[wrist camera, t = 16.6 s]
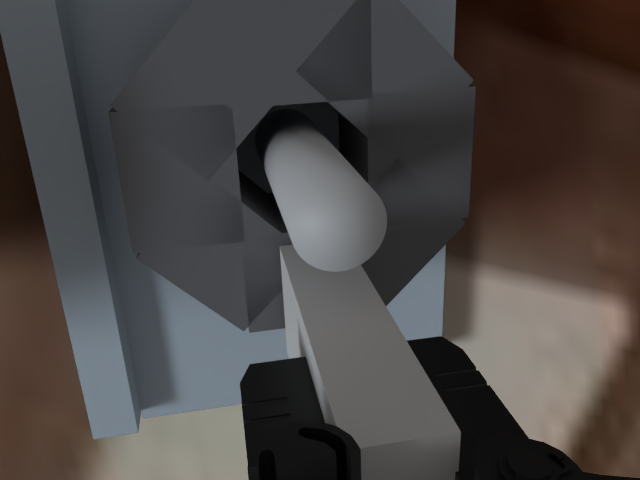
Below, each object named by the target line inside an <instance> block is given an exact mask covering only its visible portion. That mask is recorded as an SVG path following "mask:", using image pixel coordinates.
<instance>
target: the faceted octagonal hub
mask: <svg viewBox="0 0 640 480" xmlns="http://www.w3.org/2000/svg"><path fill="white" fill-rule="evenodd" d="M473 81H474V80H473V79H472V78H471V77H470V75H469V74H468V73H467V72H466V71H465V70H464V69H463V68H462V67H461V66H460V65H459V64H458V62H457V61H456V60H455V59H454V58H453V57H452V56H451V55H450V54H449V53H448V52H447V51H446V49H445V48H444V47H443V46H442V45H441V44H440V43H439V42H438V41H437V40H436V39H435V38H434V37H433V35H432V34H431V33H430V32H429V31H428V30H427V29H426V28H425V27H424V26H423V25H422V24H421V22H420V21H419V20H418V19H417V18H416V17H415V16H414V15H413V14H412V13H411V12H410V11H409V9H408V8H407V7H406V6H405V5H404V4H403V3H402V2H401V1H400V0H194V1H193V2H192V3H191V5H190V6H189V7H188V8H187V10H186V11H185V12H184V13H183V15H182V16H181V17H180V18H179V20H178V21H177V22H176V23H175V25H174V26H173V27H172V28H171V30H170V31H169V32H168V33H167V35H166V36H165V37H164V38H163V40H162V41H161V42H160V43H159V45H158V46H157V47H156V48H155V50H154V51H153V52H152V53H151V55H150V56H149V57H148V58H147V60H146V61H145V62H144V63H143V65H142V66H141V67H140V68H139V70H138V71H137V72H136V73H135V75H134V76H133V77H132V78H131V80H130V81H129V82H128V83H127V85H126V86H125V87H124V88H123V90H122V91H121V92H120V93H119V95H118V96H117V97H116V98H115V100H114V101H113V102H112V104H111V105H110V106H111V107H112V108H111V109H110V111H109V112H108V115H109V121H110V127H111V132H112V138H113V144H114V150H115V155H116V161H117V167H118V173H119V179H120V184H121V190H122V196H123V202H124V207H125V213H126V219H127V225H128V231H129V236H130V242H131V248H132V254H133V253H137V256H136V259H137V260H139V261H140V262H142V263H143V264H145V265H146V266H147V267H149V268H150V269H152V270H153V271H155V272H156V273H158V274H159V275H161V276H162V277H164V278H165V279H167V280H168V281H170V282H171V283H173V284H174V285H176V286H177V287H179V288H180V289H182V290H183V291H184V292H186V293H187V294H189V295H190V296H192V297H193V298H195V299H196V300H198V301H199V302H201V303H202V304H204V305H205V306H207V307H208V308H210V309H211V310H213V311H214V312H216V313H217V314H218V315H220V316H221V317H223V318H224V319H226V320H227V321H229V322H230V323H232V324H233V325H235V326H236V327H238V328H239V329H241V330H242V331H245V330H246V329H247V328H248V327H249V333H252V332H260V331H268V330H275V329H283V328H285V315H284V301H283V287H282V273H281V259H280V246H287V245H293V244H292V241H291V239H290V236H289V233H288V231H287V228H286V225H285V223H284V220H283V218H282V215H281V212H280V210H279V207H278V204H277V202H276V199H275V196H274V194H273V193H267V192H265V191H264V190H263V189H262V188H260V187H259V186H258V185H257V184H256V183H254V182H253V181H252V180H251V179H249V178H248V177H247V176H246V175H244V174H243V173H242V172H241V171H239V170H238V162H237V152H236V148H237V147H238V146H239V145H240V144H241V142H242V141H243V140H244V139H245V138H246V137H247V135H248V134H249V133H250V132H251V131H252V130H253V128H254V127H255V126H256V125H257V124H258V123H259V121H260V120H261V119H262V118H263V117H264V116H265V114H266V113H267V112H268V111H269V110H270V109H271V107H272V106H276V105H289V104H303V103H317V102H327V103H328V104H329V105H330V106H331V107H332V108H333V109H334V110H335V111H336V112H337V113H338V123H339V152H340V153H341V155H342V156H343V157H344V158H345V159H346V160H347V161H348V162H349V163H350V164H351V166H352V167H353V168H354V169H355V170H356V171H357V172H358V173H359V174H360V175H361V177H362V178H363V179H364V180H365V181H366V182H367V183H368V184H369V185H370V186H371V188H372V189H373V190H374V191H375V192H376V193H377V194H378V196H379V197H380V198H381V200H382V202H383V204H384V207H385V209H386V214H387V228H386V233H385V236H384V239H383V241H382V243H381V245H380V247H379V248H378V250H377V251H376V252H375V253H374V255H373V256H372V257H370V258H369V259H368V260H367V261H366V262H364V263H363V264H361V266H362V267H363V269H364V271H365V272H366V274H367V276H368V277H369V279H370V281H371V282H372V284H373V286H374V287H375V289H376V291H377V292H378V294H379V296H380V297H381V299H382V301H383V302H384V304H385V306H387V305H388V304H389V303H390V302H391V301H392V300H393V299H394V298H395V297H396V296H397V295H398V294H399V293H400V291H401V290H402V289H403V288H404V287H405V286H406V285H407V284H408V283H409V282H410V281H411V280H412V279H413V278H414V277H415V276H416V275H417V274H418V273H419V272H420V271H421V270H422V269H423V268H424V266H425V265H426V264H427V263H428V262H429V261H430V260H431V259H432V258H433V257H434V256H435V255H436V254H437V253H438V252H439V251H440V250H441V249H442V248H443V247H444V246H445V245H446V244H447V243H448V242H449V240H450V239H451V238H452V237H453V236H454V235H455V234H456V233H457V232H458V231H459V230H460V229H461V228H462V227H463V226H464V225H465V224H466V222H465V221H464V220H462V218H469V203H470V185H471V167H472V149H473V131H474V114H475V96H476V86H474V85H471V83H472V82H473Z"/></svg>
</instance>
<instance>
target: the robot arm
mask: <svg viewBox="0 0 640 480" xmlns="http://www.w3.org/2000/svg"><path fill="white" fill-rule="evenodd" d="M280 259H281V273H282V287H283V301H284V315H285V329H286V343H287V353H288V357H289V359H284V360H276V361H269V362H262V363H254V364H250V365H249V367H248V369H247V370H246V372H245V374H244V376H243V378H242V380H241V382H240V390H241V400H242V410H243V420H244V430H245V440H246V449H247V459H248V476H249V480H640V478H630V477H619V476H607V475H598V474H592V473H586V472H582V471H581V469H580V468H579V467H578V466H577V464H575V463H574V462H573V461H572V460H571V459H570V458H569V457H568V456H567V455H566V454H564V453H563V452H562V451H560V450H558V449H556V448H554V447H552V446H550V445H548V444H546V443H544V442H540V441H536V440H532V439H529V438H528V437H527V435H526V434H525V433H524V431H523V430H522V429H521V427H520V426H519V425H518V423H517V422H516V420H515V419H514V418H513V416H512V415H511V414H510V412H509V411H508V410H507V408H506V407H505V406H504V404H503V403H502V402H501V400H500V399H499V398H498V396H497V395H496V394H495V392H494V391H493V390H492V388H491V387H490V386H487V381H486V380H485V379H484V377H483V376H482V375H481V373H480V372H479V371H476V367H475V365H474V364H473V363H472V361H471V360H470V359H469V357H468V356H467V355H466V353H465V352H464V351H463V349H461V348H459V347H458V346H456V345H455V344H453V343H451V342H450V341H448V340H447V339H445V338H443V337H442V336H437V337H430V338H423V339H415V340H408V341H406V339H405V337H404V336H403V334H402V332H401V331H400V329H399V327H398V326H397V324H396V322H395V321H394V319H393V317H392V316H391V314H390V312H389V311H388V309H387V307H386V306H385V304H384V302H383V301H382V299H381V297H380V296H379V294H378V292H377V291H376V289H375V287H374V286H373V284H372V282H371V281H370V279H369V277H368V276H367V274H366V272H365V271H364V269H363V267H362V266H361V265H359V266H357V267H355V268H353V269H349V270H345V271H338V272H331V271H324V270H320V269H317V268H315V267H313V266H311V265H309V264H308V263H306V262H305V261H304V260H303V259H302V258H301V257H300V256H299V255H298V253H297V252H296V250H295V248H294V246H293V245H287V246H280Z"/></svg>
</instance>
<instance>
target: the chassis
mask: <svg viewBox="0 0 640 480" xmlns="http://www.w3.org/2000/svg"><path fill="white" fill-rule="evenodd" d="M193 1H194V0H0V33H1V38H2V42H3V47H4V51H5V55H6V60H7V64H8V68H9V73H10V77H11V81H12V86H13V90H14V95H15V99H16V103H17V108H18V112H19V116H20V121H21V125H22V130H23V134H24V138H25V143H26V147H27V151H28V156H29V160H30V164H31V169H32V173H33V178H34V182H35V186H36V191H37V195H38V199H39V204H40V208H41V212H42V217H43V221H44V226H45V230H46V234H47V239H48V243H49V247H50V252H51V256H52V260H53V265H54V269H55V274H56V278H57V282H58V287H59V291H60V295H61V300H62V304H63V308H64V313H65V317H66V322H67V326H68V330H69V335H70V339H71V343H72V348H73V352H74V357H75V361H76V365H77V370H78V374H79V378H80V383H81V387H82V391H83V396H84V400H85V405H86V409H87V413H88V418H89V422H90V426H91V431H92V435H93V439H99V438H106V437H112V436H119V435H126V434H132V433H138V429H139V422H140V415H141V412H142V417H143V418H150V417H157V416H164V415H170V414H177V413H184V412H191V411H198V410H204V409H211V408H218V407H225V406H231V405H238V404H242V400H241V390H240V382H241V380H242V378H243V376H244V374H245V372H246V370H247V369H248V367H249V365H250V364H254V363H262V362H269V361H276V360H284V359H289V357H288V353H287V343H286V329H285V328H283V329H275V330H268V331H260V332H252V333H249V327H248V328H247V329H246V330H245V331H242V330H241V329H239V328H238V327H236V326H235V325H233V324H232V323H230V322H229V321H227V320H226V319H224V318H223V317H221V316H220V315H218V314H217V313H216V312H214V311H213V310H211V309H210V308H208V307H207V306H205V305H204V304H202V303H201V302H199V301H198V300H196V299H195V298H193V297H192V296H190V295H189V294H187V293H186V292H184V291H183V290H182V289H180V288H179V287H177V286H176V285H174V284H173V283H171V282H170V281H168V280H167V279H165V278H164V277H162V276H161V275H159V274H158V273H156V272H155V271H153V270H152V269H150V268H149V267H147V266H146V265H145V264H143V263H142V262H140V261H139V260H137V259H136V256H137V253H133V254H132V248H131V242H130V236H129V231H128V225H127V219H126V213H125V207H124V202H123V196H122V190H121V184H120V179H119V173H118V167H117V161H116V155H115V150H114V144H113V138H112V132H111V127H110V121H109V115H108V112H109V111H110V109H111V108H112V107H111V106H110V105H111V104H112V102H113V101H114V100H115V98H116V97H117V96H118V95H119V93H120V92H121V91H122V90H123V88H124V87H125V86H126V85H127V83H128V82H129V81H130V80H131V78H132V77H133V76H134V75H135V73H136V72H137V71H138V70H139V68H140V67H141V66H142V65H143V63H144V62H145V61H146V60H147V58H148V57H149V56H150V55H151V53H152V52H153V51H154V50H155V48H156V47H157V46H158V45H159V43H160V42H161V41H162V40H163V38H164V37H165V36H166V35H167V33H168V32H169V31H170V30H171V28H172V27H173V26H174V25H175V23H176V22H177V21H178V20H179V18H180V17H181V16H182V15H183V13H184V12H185V11H186V10H187V8H188V7H189V6H190V5H191V3H192V2H193ZM400 1H401V2H402V3H403V4H404V5H405V6H406V7H407V8H408V9H409V11H410V12H411V13H412V14H413V15H414V16H415V17H416V18H417V19H418V20H419V21H420V22H421V24H422V25H423V26H424V27H425V28H426V29H427V30H428V31H429V32H430V33H431V34H432V35H433V37H434V38H435V39H436V40H437V41H438V42H439V43H440V44H441V45H442V46H443V47H444V48H445V49H446V51H447V52H448V53H449V54H450V55H451V56H452V57H453V58H454V39H455V15H456V0H400ZM236 152H237V162H238V170H239V171H241V172H242V173H243V174H244V175H246V176H247V177H248V178H249V179H251V180H252V181H253V182H254V183H256V184H257V185H258V186H259V187H260V188H262V189H263V190H264V191H265V192H267V193H273V194H274V196H275V199H276V202H277V204H278V207H279V210H280V212H281V215H282V218H283V220H284V223H285V225H286V228H287V231H288V233H289V236H290V239H291V241H292V244H293V246H294V248H295V250H296V252H297V253H298V255H299V256H300V257H301V258H302V259H303V260H304V261H305V262H306V263H308V264H309V265H311V266H313V267H315V268H317V269H320V270H324V271H331V272H338V271H345V270H349V269H353V268H355V267H357V266H359V265H361V264H363V263H364V262H366V261H367V260H368V259H369V258H370V257H372V256H373V255H374V253H375V252H376V251H377V250H378V248H379V247H380V245H381V243H382V241H383V239H384V236H385V233H386V228H387V214H386V209H385V207H384V204H383V202H382V200H381V198H380V197H379V196H378V194H377V193H376V192H375V191H374V190H373V189H372V188H371V186H370V185H369V184H368V183H367V182H366V181H365V180H364V179H363V178H362V177H361V175H360V174H359V173H358V172H357V171H356V170H355V169H354V168H353V167H352V166H351V164H350V163H349V162H348V161H347V160H346V159H345V158H344V157H343V156H342V155H341V153H340V152H339V123H338V113H337V112H336V111H335V110H334V109H333V108H332V107H331V106H330V105H329V104H328V103H327V102H317V103H303V104H289V105H276V106H272V107H271V109H270V110H269V111H268V112H267V113H266V114H265V116H264V117H263V118H262V119H261V120H260V121H259V123H258V124H257V125H256V126H255V127H254V128H253V130H252V131H251V132H250V133H249V134H248V135H247V137H246V138H245V139H244V140H243V141H242V142H241V144H240V145H239V146H238V147H237V148H236ZM445 255H446V245H445V246H444V247H443V248H442V249H441V250H440V251H439V252H438V253H437V254H436V255H435V256H434V257H433V258H432V259H431V260H430V261H429V262H428V263H427V264H426V265H425V266H424V268H423V269H422V270H421V271H420V272H419V273H418V274H417V275H416V276H415V277H414V278H413V279H412V280H411V281H410V282H409V283H408V284H407V285H406V286H405V287H404V288H403V289H402V290H401V291H400V293H399V294H398V295H397V296H396V297H395V298H394V299H393V300H392V301H391V302H390V303H389V304H388V305H387V306H386V307H387V309H388V311H389V312H390V314H391V316H392V317H393V319H394V321H395V322H396V324H397V326H398V327H399V329H400V331H401V332H402V334H403V336H404V337H405V339H406V341H408V340H415V339H423V338H430V337H437V336H442V327H443V303H444V279H445Z"/></svg>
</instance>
